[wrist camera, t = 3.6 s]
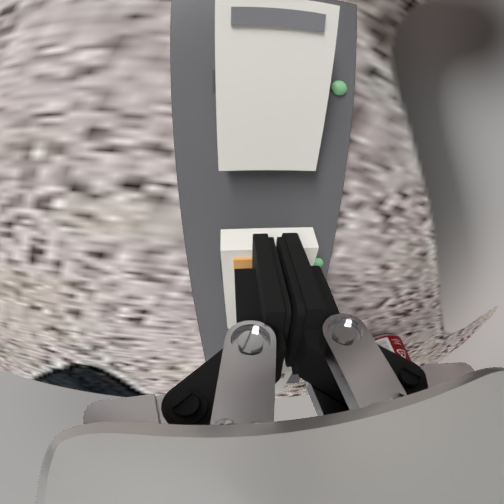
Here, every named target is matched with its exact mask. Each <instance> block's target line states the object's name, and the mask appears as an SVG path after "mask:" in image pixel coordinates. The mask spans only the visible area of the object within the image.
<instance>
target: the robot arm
mask: <svg viewBox="0 0 504 504" xmlns="http://www.w3.org/2000/svg"><path fill="white" fill-rule="evenodd" d="M234 276H235V302H236V323H237V324H235V325H233V326H232V327H231V328H230V329H229V330H228V331H227V334H226V336H225V341H224V347H223V348H222V349H221V350H220V351H219V352H218V353H216V354H215V355H214V356H213V357H211V358H210V359H209V360H208V361H206V362H205V363H204V364H203V365H201V366H200V367H199V368H198V369H196V370H195V371H194V372H193V373H191V374H190V375H189V376H188V377H186V378H185V379H184V380H182V381H181V382H180V383H179V384H177V385H176V386H175V387H173V388H172V389H171V390H170V391H169V392H168V393H167V394H166V395H161V396H155V395H154V394H149V395H142V396H134V397H126V398H117V399H107V400H98V401H95V402H93V403H91V404H90V405H88V407H87V409H86V410H85V412H84V417H83V425H79V426H75V427H72V428H69V429H67V430H64V431H62V432H61V433H59V434H58V435H56V436H55V437H54V439H53V440H52V441H51V443H50V444H49V446H48V449H47V451H46V453H45V456H44V459H43V463H42V466H41V470H40V475H39V481H38V487H37V495H36V504H504V368H502V367H493V368H485V369H481V370H477V371H474V369H473V368H472V367H471V366H470V365H468V364H466V363H462V362H459V363H445V364H424V365H423V366H422V367H419V366H418V365H417V364H415V363H413V362H411V361H409V360H407V359H405V358H403V357H401V356H399V355H398V354H396V353H394V352H392V351H390V350H388V349H386V348H384V347H382V346H380V345H378V344H377V343H376V342H375V340H374V338H373V337H372V335H371V334H370V332H369V330H368V329H367V327H366V326H365V324H364V323H363V322H362V321H361V320H360V319H358V318H357V317H355V316H352V315H350V314H343V313H342V314H340V313H339V311H338V308H337V306H336V303H335V301H334V298H333V296H332V293H331V291H330V288H329V286H328V284H327V281H326V279H325V276H324V274H323V272H322V269H321V268H320V266H318V265H315V266H311V265H310V263H309V260H308V258H307V255H306V253H305V250H304V248H303V245H302V243H301V240H300V238H299V235H298V233H283V234H282V237H277V242H276V245H275V241H274V238H273V237H268V234H267V233H263V234H253V244H252V268H243V269H234ZM284 359H285V364H286V367H291V369H292V374H293V375H295V374H298V375H299V377H300V378H302V379H303V380H305V381H306V387H307V390H308V392H309V395H310V397H311V400H312V402H313V405H314V407H315V410H316V412H317V415H318V416H316V417H310V418H303V419H296V420H288V421H278V422H274V401H275V384H276V383H277V382H278V381H279V380H280V378H281V373H282V367H283V362H284Z"/></svg>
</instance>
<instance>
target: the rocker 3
mask: <svg viewBox="0 0 504 504" xmlns="http://www.w3.org/2000/svg"><path fill="white" fill-rule="evenodd" d="M291 374H292V369H291V367H286V364H285V359H284V362H283V367H282V373H281V378H280V380H279V381H278V382H277V383H276V384H275V394H280V393H281V391H282V389H283V388H284V386H285V384H286V383H287V381H288V379H289V377H290V376H291Z"/></svg>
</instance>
